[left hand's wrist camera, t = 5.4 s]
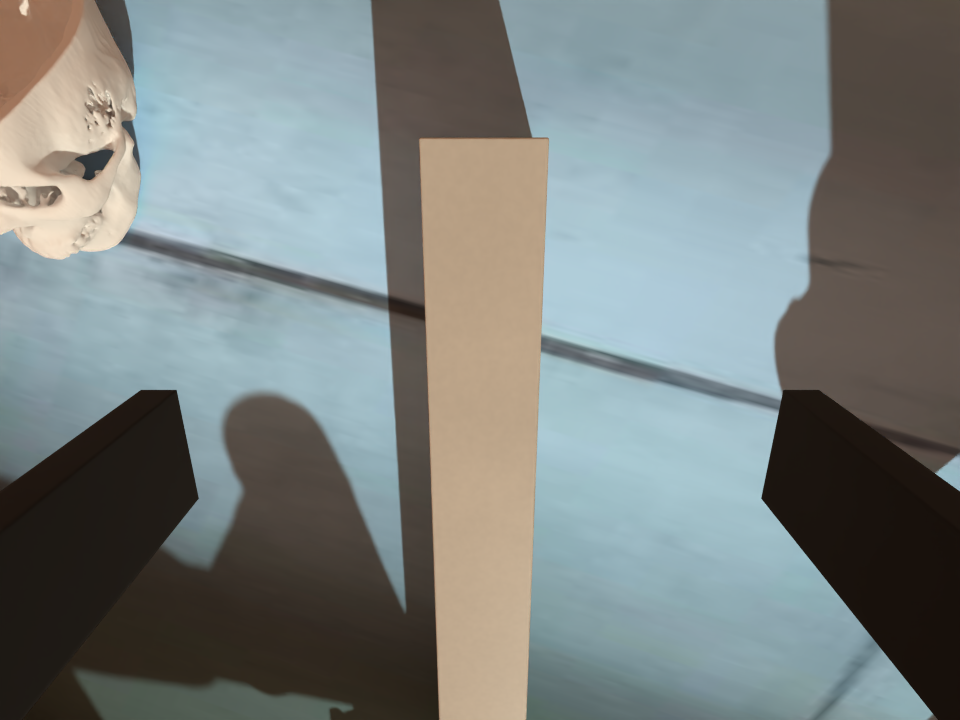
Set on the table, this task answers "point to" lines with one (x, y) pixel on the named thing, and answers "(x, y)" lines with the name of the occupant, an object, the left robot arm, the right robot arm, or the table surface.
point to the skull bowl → (64, 128)
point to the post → (483, 409)
